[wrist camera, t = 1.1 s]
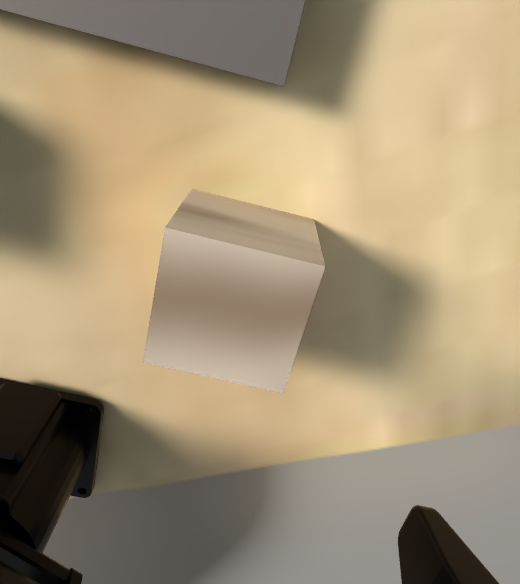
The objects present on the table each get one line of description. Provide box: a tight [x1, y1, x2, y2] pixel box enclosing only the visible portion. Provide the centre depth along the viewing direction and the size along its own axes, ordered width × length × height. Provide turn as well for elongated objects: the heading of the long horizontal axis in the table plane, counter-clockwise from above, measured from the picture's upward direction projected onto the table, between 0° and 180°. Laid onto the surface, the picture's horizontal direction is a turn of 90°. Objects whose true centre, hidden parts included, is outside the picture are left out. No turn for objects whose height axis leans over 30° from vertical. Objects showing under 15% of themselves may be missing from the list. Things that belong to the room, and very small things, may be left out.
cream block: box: [143, 189, 326, 393], centre depth 18 cm, size 5×5×5 cm
